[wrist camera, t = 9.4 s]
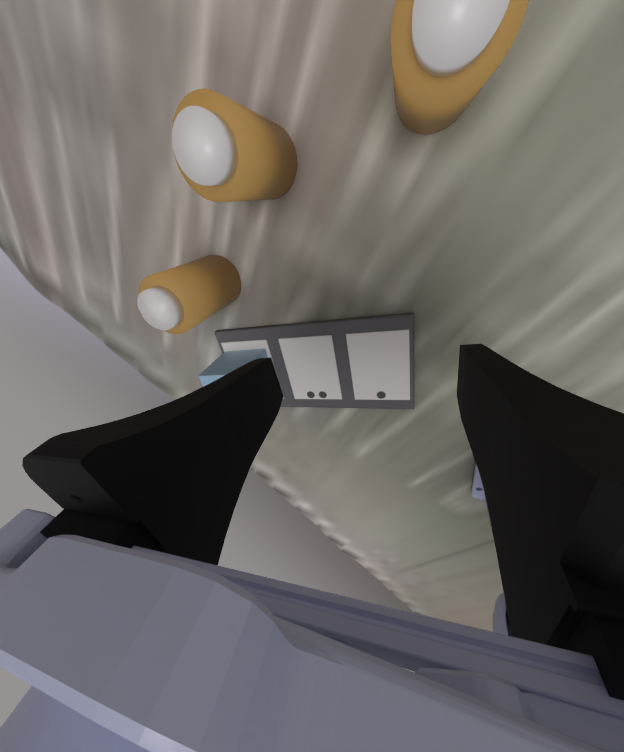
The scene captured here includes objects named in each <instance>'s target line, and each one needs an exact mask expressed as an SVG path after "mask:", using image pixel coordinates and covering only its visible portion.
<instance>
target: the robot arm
mask: <svg viewBox="0 0 624 752" xmlns="http://www.w3.org/2000/svg"><path fill="white" fill-rule="evenodd" d="M283 397H284V396H283V393H282V390H281V387H280V383H279V380H278V377H277V374H276V371H275V368H274V365H273V362H272V359H271V357H270V358H258V359H255V360H253V361H251V362H249V363H246V364H245V365H243V366H241V367H239V368H237V369H235V370H233V371H232V372H230V373H228V374H226V375H224V376H223V377H221V378H219V379H217V380H215V381H213V382H211V383H210V384H208V385H206V386H204V387H202V388H200V389H198V390H196V391H194V392H192V393H190V394H188V395H186V396H184V397H181V398H179V399H177V400H174V401H172V402H170V403H167V404H165V405H162V406H159V407H156V408H154V409H151V410H148V411H145V412H142V413H140V414H137V415H133V416H131V417H127V418H124V419H121V420H117V421H113V422H110V423H106V424H102V425H98V426H94V427H89V428H85V429H81V430H76V431H72V432H68V433H62V434H60V435H57V436H55V437H52V438H50V439H49V440H47V441H46V442H44V443H43V444H42V445H40V446H39V447H37V448H36V449H35V450H33V451H32V452H30V453H29V454H28V455H26V456H25V457H24V458H23V468H24V470H25V472H26V473H27V474H28V476H29V477H30V478H31V479H32V480H33V481H34V482H35V483H36V484H37V485H38V486H39V487H40V488H41V489H42V490H43V491H45V492H46V493H47V494H48V495H49V496H50V497H51V498H52V499H53V500H54V501H55V502H57V503H58V504H59V505H60V506H61V507H62V508H64V510H63V511H62V512H61V513H60V514H58V515H57V516H56V517H54V516H52V515H50V514H48V513H45V512H40V511H36V510H31V509H25V510H23V511H21V512H20V513H19V514H18V515H17V516H16V517H14V518H13V519H12V520H11V521H10V522H8V523H7V524H6V525H5V526H4V527H2V528H1V529H0V667H1V668H3V669H5V670H6V671H8V672H10V673H11V674H13V675H15V676H17V677H18V678H20V679H22V680H24V681H25V682H27V683H29V684H30V685H32V686H31V688H30V689H29V691H28V692H27V693H26V695H25V696H24V697H23V698H22V700H21V701H20V703H19V704H18V705H17V706H16V708H15V709H14V711H13V712H12V713H11V714H10V716H9V717H8V718H7V720H6V721H5V722H4V724H3V725H2V726H1V728H0V752H624V413H621V412H618V411H615V410H612V409H609V408H607V407H604V406H601V405H599V404H596V403H594V402H591V401H589V400H586V399H584V398H582V397H579V396H577V395H575V394H572V393H570V392H567V391H565V390H563V389H561V388H559V387H557V386H554V385H552V384H551V383H549V382H547V381H545V380H543V379H541V378H539V377H537V376H535V375H533V374H531V373H529V372H528V371H526V370H524V369H522V368H520V367H519V366H517V365H515V364H514V363H512V362H510V361H509V360H507V359H505V358H504V357H502V356H501V355H499V354H497V353H496V352H494V351H493V350H491V349H489V348H488V347H486V346H484V345H482V344H470V345H460V354H459V369H458V384H457V398H458V404H459V410H460V415H461V420H462V423H463V426H464V429H465V432H466V435H467V438H468V441H469V444H470V447H471V450H472V453H473V456H474V459H475V462H476V464H475V471H474V477H473V483H472V489H471V495H472V497H473V498H475V499H481V500H485V504H486V508H487V512H488V515H489V519H490V523H491V527H492V531H493V536H494V542H495V547H496V552H497V557H498V563H499V568H500V574H501V579H502V585H503V590H504V593H502V594H500V595H499V596H498V598H497V600H496V603H495V609H494V614H493V632H491V631H486V630H482V629H478V628H474V627H470V626H466V625H462V624H457V623H453V622H449V621H445V620H441V619H437V618H433V617H428V616H424V615H420V614H416V613H411V612H408V611H404V610H399V609H395V608H391V607H387V606H383V605H379V604H375V603H370V602H366V601H362V600H358V599H354V598H350V597H345V596H341V595H337V594H333V593H329V592H325V591H320V590H316V589H312V588H308V587H304V586H299V585H296V584H292V583H287V582H283V581H279V580H275V579H271V578H267V577H262V576H258V575H254V574H250V573H245V572H241V571H237V570H233V569H229V568H225V567H221V566H217V565H218V562H219V558H220V554H221V551H222V547H223V543H224V539H225V536H226V533H227V530H228V527H229V524H230V521H231V518H232V514H233V511H234V508H235V506H236V503H237V500H238V497H239V494H240V492H241V489H242V486H243V484H244V481H245V479H246V476H247V474H248V471H249V469H250V466H251V464H252V462H253V460H254V458H255V456H256V454H257V452H258V451H259V449H260V447H261V445H262V443H263V441H264V439H265V437H266V436H267V434H268V432H269V430H270V428H271V426H272V424H273V422H274V420H275V418H276V416H277V414H278V411H279V409H280V406H281V403H282V400H283ZM404 668H405V669H404ZM406 669H409V670H412V671H415V673H414V672H411V671H409V670H406Z"/></svg>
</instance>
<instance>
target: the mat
mask: <svg viewBox="0 0 624 752" xmlns="http://www.w3.org/2000/svg"><path fill="white" fill-rule="evenodd" d="M214 333H215V335H216V338H217V340H218V343H219V345H220V348H221V350H222V353H224V352H226V351H239V350H251V349H264V348H265V349H266V352H267V355H268V358H270V357H271V359H272V362H273V365H274V368H275V371H276V374H277V377H278V380H279V383H280V387H281V390H282V393H283V396H284V397H283V400H282V403H281V406H280V407H329V408H381V409H414V313H408V314H397V315H386V316H374V317H363V318H352V319H340V320H329V321H318V322H306V323H295V324H284V325H272V326H261V327H250V328H238V329H227V330H217V331H215V332H214Z"/></svg>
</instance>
